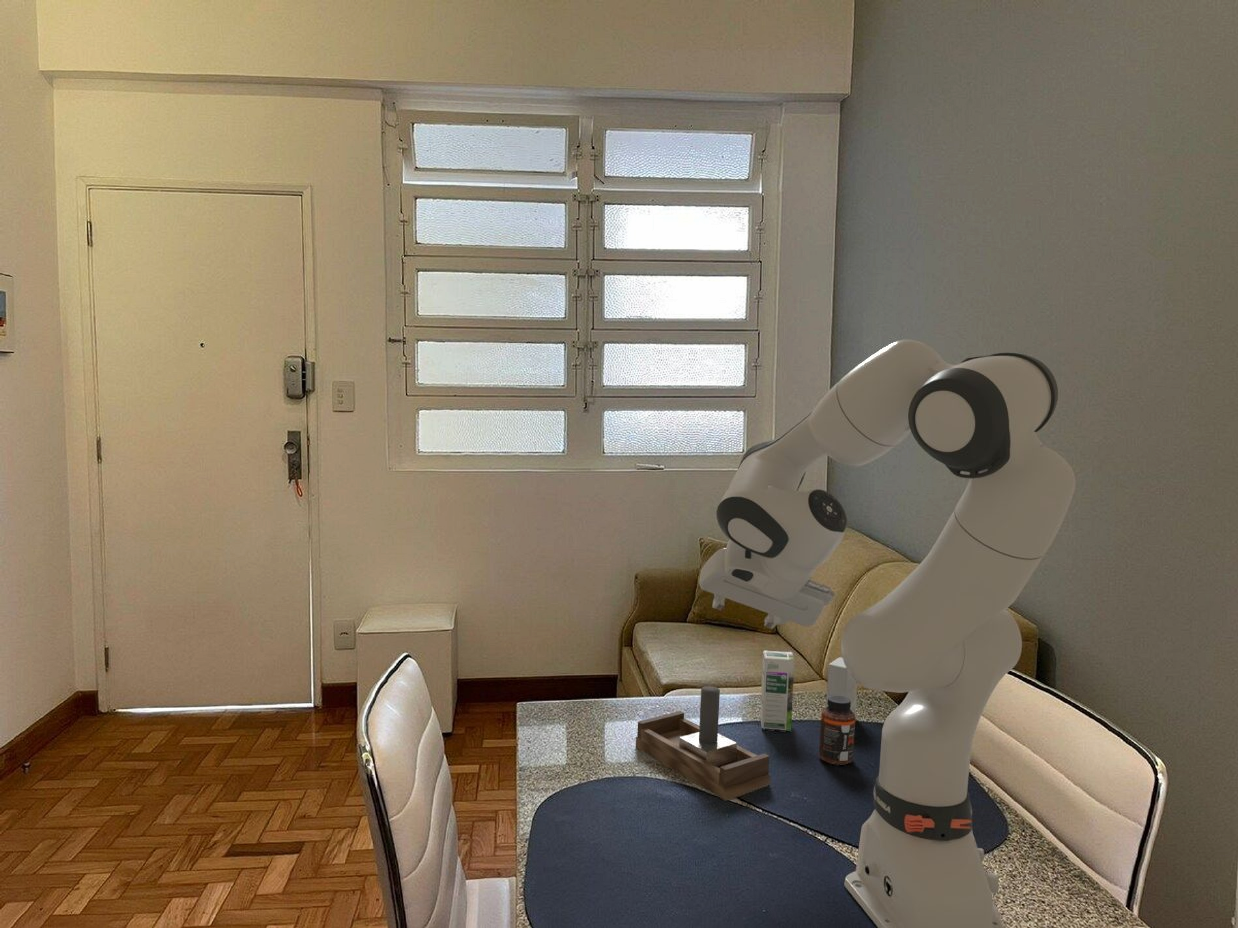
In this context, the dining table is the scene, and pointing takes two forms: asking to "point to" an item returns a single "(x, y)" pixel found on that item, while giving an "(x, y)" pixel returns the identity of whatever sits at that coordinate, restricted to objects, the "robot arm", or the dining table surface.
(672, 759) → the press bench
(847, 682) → the skincare box
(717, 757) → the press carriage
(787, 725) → the syrup box
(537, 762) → the dining table surface
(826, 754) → the supplement bottle
